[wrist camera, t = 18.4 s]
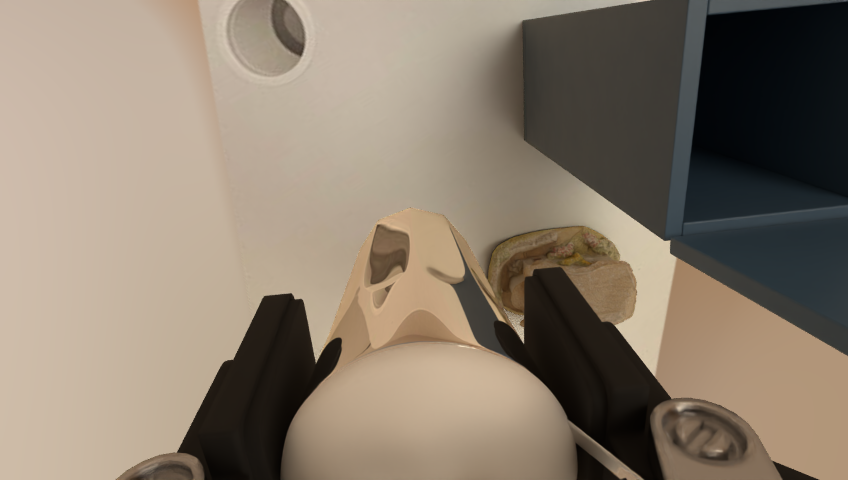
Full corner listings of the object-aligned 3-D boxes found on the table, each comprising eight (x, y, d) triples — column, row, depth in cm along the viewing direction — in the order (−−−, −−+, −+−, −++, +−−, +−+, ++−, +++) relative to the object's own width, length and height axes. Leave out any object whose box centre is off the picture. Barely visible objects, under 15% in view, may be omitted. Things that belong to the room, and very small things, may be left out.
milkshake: (532, 283, 16) (727, 644, 6) (375, 340, 16) (346, 750, 7) (485, 150, 14) (661, 381, 5) (313, 219, 14) (162, 548, 5)
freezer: (522, 20, 42) (689, -6, 19) (640, 9, 42) (947, -31, 19) (524, 140, 45) (664, 241, 22) (632, 129, 46) (879, 217, 23)
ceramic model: (630, 224, 49) (686, 267, 40) (610, 322, 53) (657, 381, 44) (490, 223, 48) (515, 267, 39) (481, 323, 52) (502, 383, 43)
